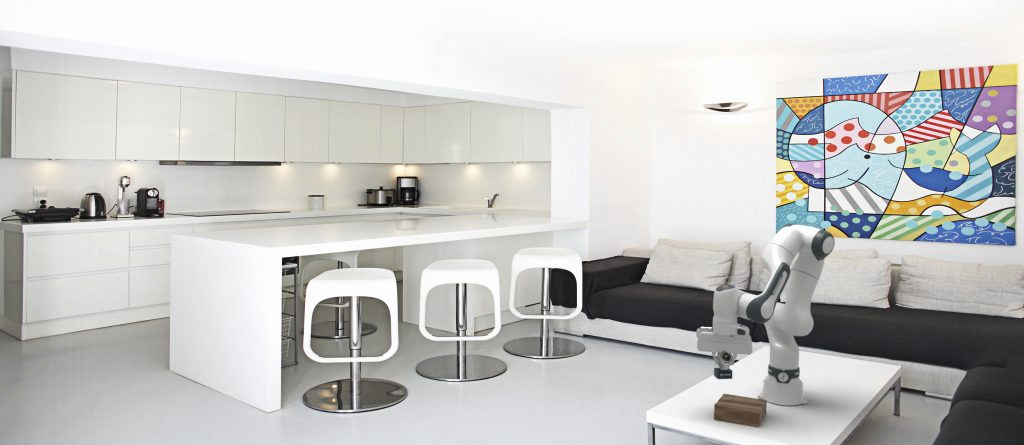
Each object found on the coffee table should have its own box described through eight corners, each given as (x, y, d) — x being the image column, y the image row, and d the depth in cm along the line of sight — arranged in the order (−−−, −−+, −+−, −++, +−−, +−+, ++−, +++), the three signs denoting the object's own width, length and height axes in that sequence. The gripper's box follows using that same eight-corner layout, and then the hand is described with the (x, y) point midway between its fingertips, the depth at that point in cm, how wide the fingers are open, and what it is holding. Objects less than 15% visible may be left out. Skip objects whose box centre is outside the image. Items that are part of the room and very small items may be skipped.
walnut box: (723, 408, 284) (724, 393, 284) (766, 415, 276) (766, 400, 276) (713, 420, 270) (714, 404, 270) (758, 428, 262) (759, 412, 262)
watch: (719, 380, 271) (720, 351, 270) (712, 374, 279) (712, 346, 278) (734, 380, 271) (734, 351, 270) (726, 374, 279) (727, 346, 278)
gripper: (696, 328, 274) (695, 364, 275) (753, 331, 268) (752, 368, 269) (696, 324, 280) (696, 359, 281) (752, 327, 274) (751, 363, 275)
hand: (724, 364), depth 275 cm, fingers closed on watch, 4 cm apart
